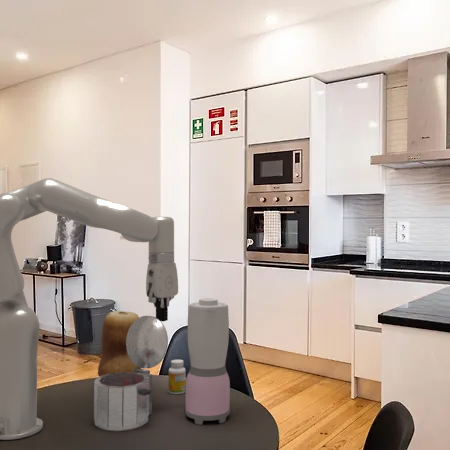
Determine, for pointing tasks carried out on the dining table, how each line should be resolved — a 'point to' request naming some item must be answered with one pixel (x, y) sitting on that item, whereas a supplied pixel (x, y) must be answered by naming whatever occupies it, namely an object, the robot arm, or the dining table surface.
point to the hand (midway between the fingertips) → (161, 320)
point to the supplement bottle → (177, 377)
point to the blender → (208, 361)
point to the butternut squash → (116, 343)
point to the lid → (146, 343)
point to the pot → (122, 400)
